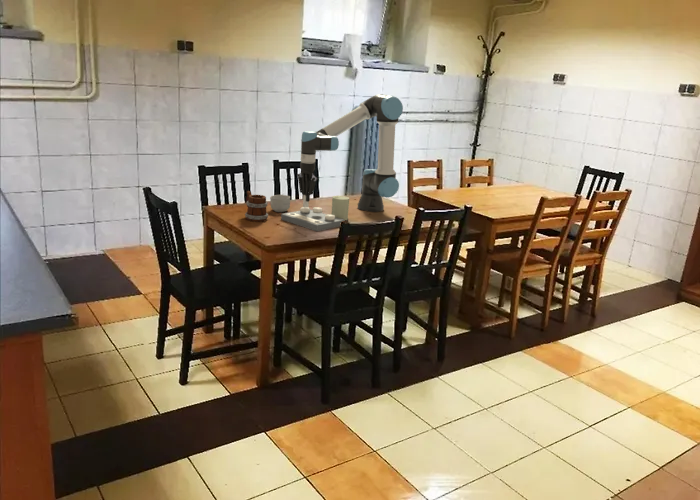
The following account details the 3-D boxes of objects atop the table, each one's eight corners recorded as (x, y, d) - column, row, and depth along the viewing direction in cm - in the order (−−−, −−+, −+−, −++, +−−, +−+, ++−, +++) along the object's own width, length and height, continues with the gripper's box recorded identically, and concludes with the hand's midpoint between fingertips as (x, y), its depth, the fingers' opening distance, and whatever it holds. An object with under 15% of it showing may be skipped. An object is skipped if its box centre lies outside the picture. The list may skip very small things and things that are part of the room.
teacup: (286, 214, 316) (286, 199, 314) (266, 211, 318) (267, 197, 316) (293, 208, 329) (294, 194, 327) (275, 206, 331) (275, 192, 329)
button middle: (317, 210, 308) (317, 206, 308) (324, 212, 305) (324, 208, 305) (310, 211, 305) (310, 208, 304) (317, 213, 302) (317, 210, 301)
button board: (308, 214, 320) (309, 208, 319) (344, 225, 303) (344, 219, 302) (281, 219, 305) (281, 213, 304) (316, 231, 289) (317, 224, 288)
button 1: (305, 210, 314) (305, 206, 314) (311, 212, 311) (312, 208, 311) (298, 211, 311) (298, 207, 310) (304, 213, 308) (305, 209, 307)
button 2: (329, 217, 303) (329, 213, 303) (336, 219, 300) (337, 216, 300) (322, 219, 300) (323, 215, 299) (329, 221, 297) (330, 217, 296)
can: (328, 216, 318) (329, 194, 315) (344, 216, 322) (345, 194, 318) (334, 221, 310) (336, 198, 307) (350, 220, 314) (352, 198, 310)
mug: (253, 223, 294) (251, 192, 291) (238, 221, 304) (236, 191, 302) (273, 220, 301) (271, 190, 299) (258, 218, 312) (256, 190, 309)
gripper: (293, 160, 305) (291, 205, 312) (311, 164, 297) (309, 210, 304) (304, 159, 310) (302, 203, 317) (322, 163, 302) (319, 208, 309)
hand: (305, 207), depth 310 cm, fingers closed
